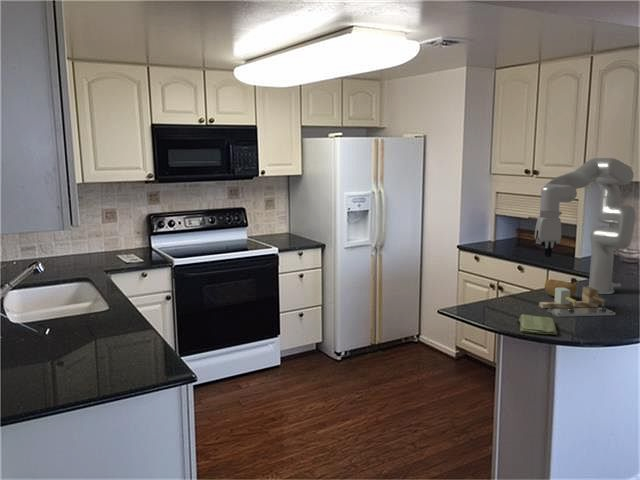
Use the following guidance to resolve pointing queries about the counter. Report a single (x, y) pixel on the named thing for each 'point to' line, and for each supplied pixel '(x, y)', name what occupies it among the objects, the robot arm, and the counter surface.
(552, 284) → the potato
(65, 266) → the counter surface
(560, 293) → the block
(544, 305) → the rail
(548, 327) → the washcloth
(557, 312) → the bolt plate
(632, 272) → the counter surface
